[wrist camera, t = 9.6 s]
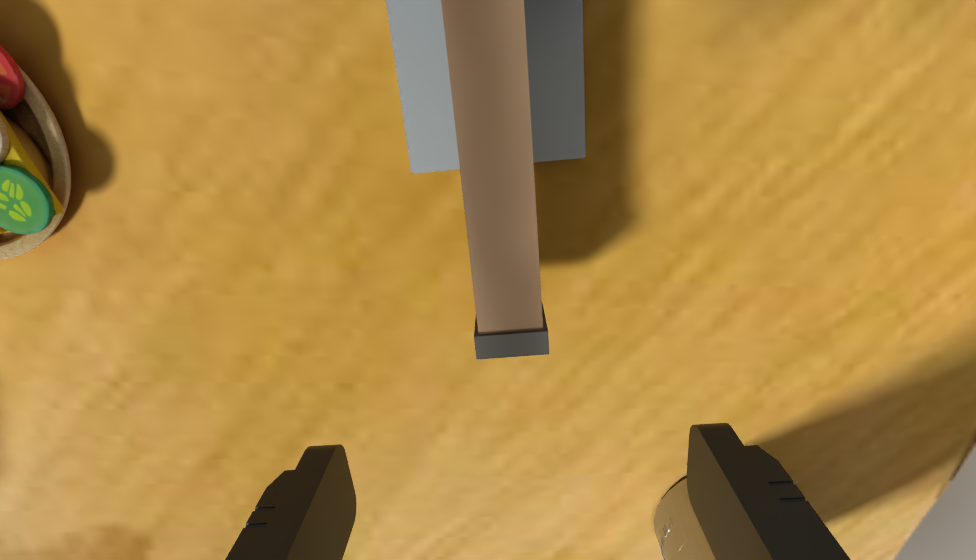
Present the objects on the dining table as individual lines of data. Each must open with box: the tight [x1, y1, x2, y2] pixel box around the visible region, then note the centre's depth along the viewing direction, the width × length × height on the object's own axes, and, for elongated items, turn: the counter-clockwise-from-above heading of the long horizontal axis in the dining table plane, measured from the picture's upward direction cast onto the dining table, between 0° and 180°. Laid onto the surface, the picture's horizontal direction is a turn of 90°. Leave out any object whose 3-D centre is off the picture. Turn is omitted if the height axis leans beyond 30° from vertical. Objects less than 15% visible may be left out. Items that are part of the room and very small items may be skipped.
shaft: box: [441, 0, 549, 359], centre depth 21 cm, size 3×23×3 cm, turn 5°
